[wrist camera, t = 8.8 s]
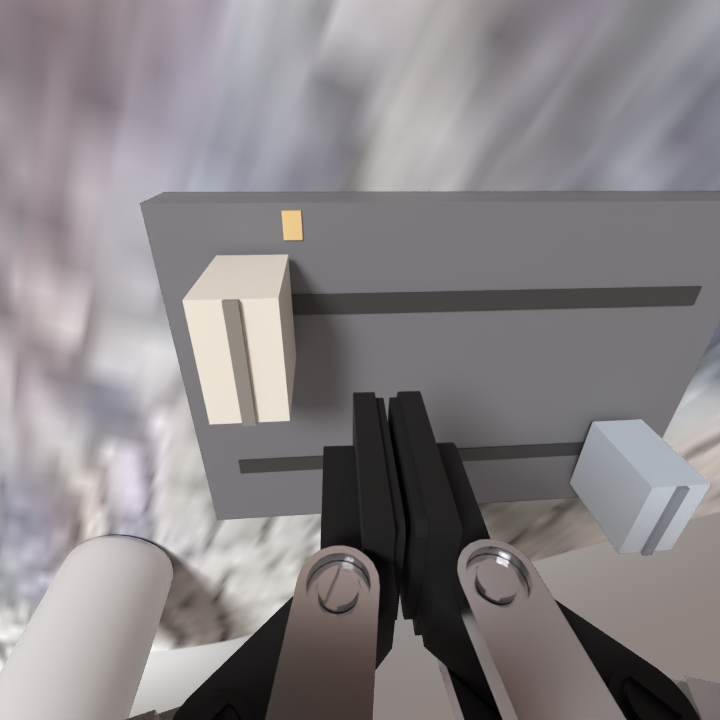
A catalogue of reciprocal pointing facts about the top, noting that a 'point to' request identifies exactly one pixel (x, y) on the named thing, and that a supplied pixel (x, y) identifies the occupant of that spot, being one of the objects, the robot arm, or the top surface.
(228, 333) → the cream fader
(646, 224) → the fader console
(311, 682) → the robot arm
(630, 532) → the grey fader
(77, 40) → the top surface
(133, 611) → the milk bottle
